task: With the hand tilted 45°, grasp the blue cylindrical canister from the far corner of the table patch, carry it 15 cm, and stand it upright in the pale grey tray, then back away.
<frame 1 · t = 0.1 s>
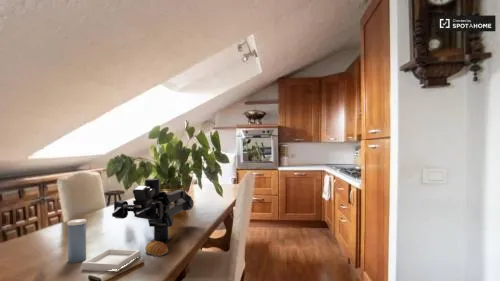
hand: (124, 215, 98), 17 cm above the table, tool horizontal, fingers open, 9 cm apart
blue cylindrical canister: (77, 259, 103), on the table
tray: (112, 263, 99), on the table
pastry: (157, 253, 109), on the table
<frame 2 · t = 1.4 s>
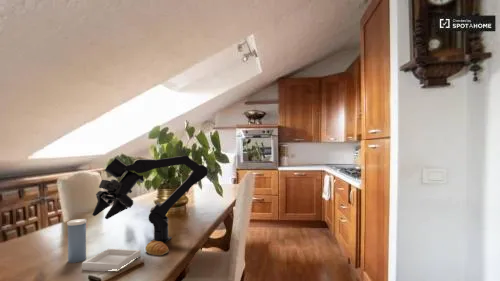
hand: (99, 217, 109), 14 cm above the table, tool tilted 45°, fingers open, 9 cm apart
nothing on the table moved.
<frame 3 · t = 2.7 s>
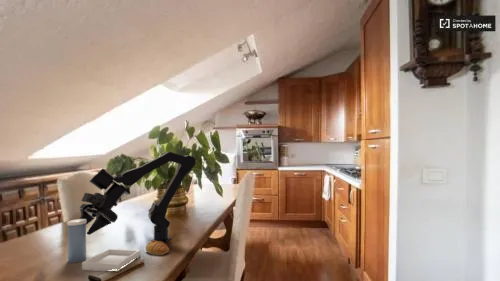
hand: (81, 232, 104), 9 cm above the table, tool tilted 45°, fingers open, 9 cm apart
nothing on the table moved.
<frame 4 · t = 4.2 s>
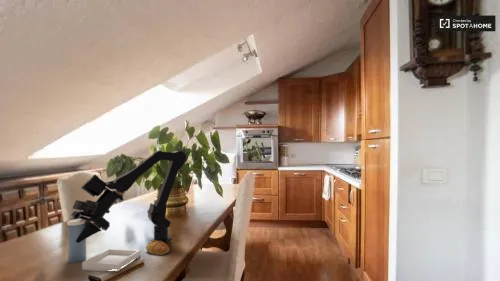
hand: (72, 240, 102), 7 cm above the table, tool tilted 45°, fingers closed on blue cylindrical canister, 6 cm apart
blue cylindrical canister: (77, 259, 103), on the table, touching gripper
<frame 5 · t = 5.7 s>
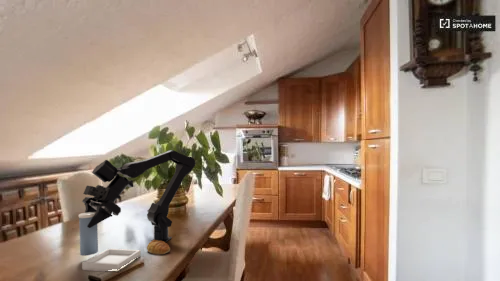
hand: (84, 226, 101), 12 cm above the table, tool tilted 45°, fingers closed on blue cylindrical canister, 6 cm apart
blue cylindrical canister: (89, 252, 102), point 3 cm above the table, touching gripper
when the fingers open (9 cm above the table, at t = 7.7 s): blue cylindrical canister stays where it is, resting on tray.
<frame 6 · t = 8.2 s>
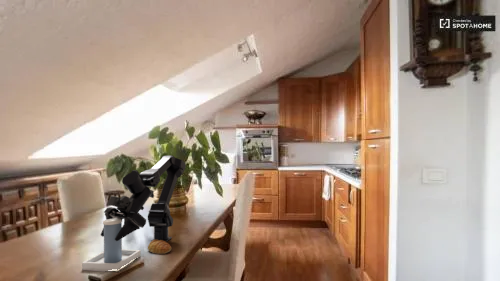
hand: (108, 238, 98), 9 cm above the table, tool tilted 45°, fingers open, 9 cm apart
blue cylindrical canister: (113, 260, 99), point 1 cm above the table, touching tray
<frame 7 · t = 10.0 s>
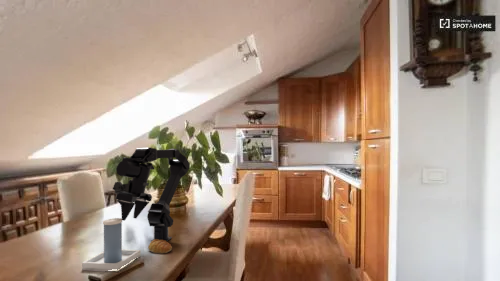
hand: (129, 219, 110), 12 cm above the table, tool tilted 15°, fingers open, 9 cm apart
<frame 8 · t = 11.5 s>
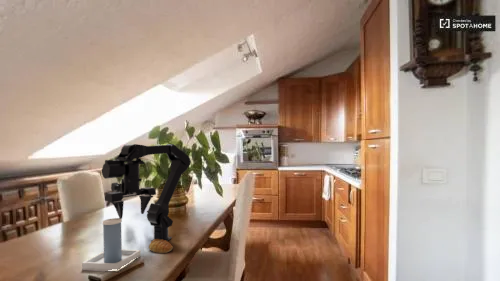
hand: (131, 216, 112), 13 cm above the table, tool pointing down, fingers open, 9 cm apart
at the end: blue cylindrical canister 0.1 cm off-centre on the tray, point 0.8 cm above the tray's base; blue cylindrical canister tilted 1°; the gripper is holding nothing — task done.
